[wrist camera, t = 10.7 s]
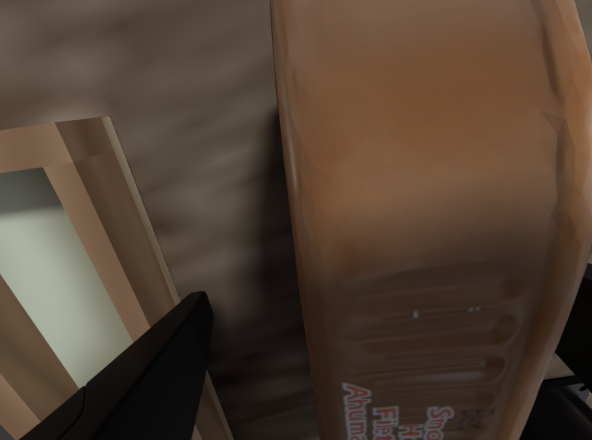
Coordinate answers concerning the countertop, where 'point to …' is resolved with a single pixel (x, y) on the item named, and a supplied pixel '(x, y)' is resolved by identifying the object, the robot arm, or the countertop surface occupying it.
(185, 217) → the countertop surface
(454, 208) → the tin
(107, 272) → the divided wooden tray
